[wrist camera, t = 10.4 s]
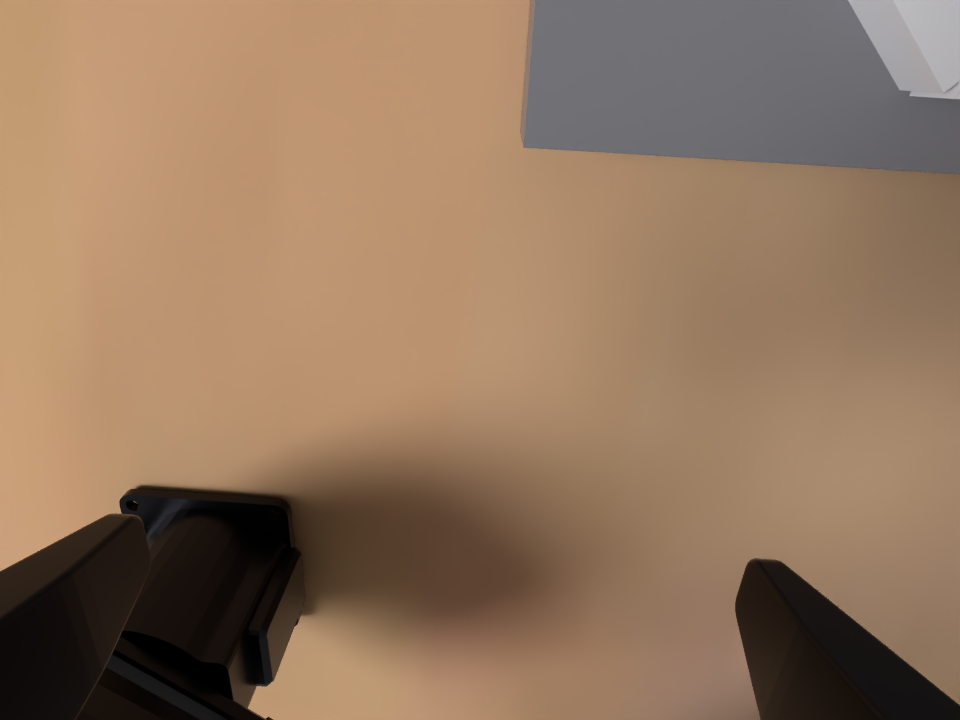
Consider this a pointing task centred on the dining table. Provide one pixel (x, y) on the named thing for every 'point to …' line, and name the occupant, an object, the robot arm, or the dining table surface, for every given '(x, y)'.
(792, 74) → the octagon ring plate
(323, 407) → the dining table surface
